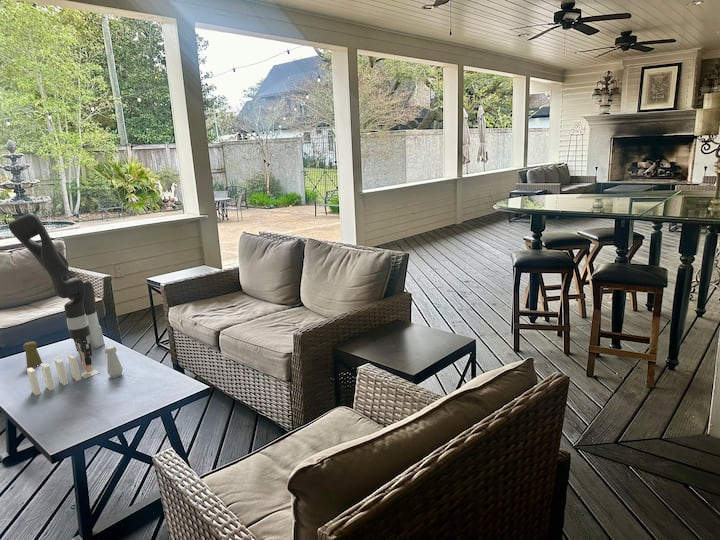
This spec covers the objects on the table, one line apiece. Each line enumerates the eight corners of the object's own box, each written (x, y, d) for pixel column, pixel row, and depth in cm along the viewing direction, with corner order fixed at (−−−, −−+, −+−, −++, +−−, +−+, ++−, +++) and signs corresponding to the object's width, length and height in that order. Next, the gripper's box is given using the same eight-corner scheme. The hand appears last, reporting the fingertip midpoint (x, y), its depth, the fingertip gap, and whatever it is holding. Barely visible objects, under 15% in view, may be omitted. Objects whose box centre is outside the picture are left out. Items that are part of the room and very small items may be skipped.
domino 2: (51, 385, 204) (45, 362, 202) (54, 388, 201) (49, 365, 198) (46, 386, 203) (40, 364, 201) (49, 390, 200) (44, 367, 197)
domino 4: (77, 376, 211) (72, 354, 209) (81, 379, 208) (76, 357, 205) (72, 377, 210) (67, 355, 207) (76, 380, 207) (71, 358, 204)
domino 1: (37, 389, 201) (31, 367, 198) (40, 393, 197) (35, 370, 195) (32, 391, 200) (26, 368, 197) (35, 395, 196) (29, 372, 194)
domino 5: (88, 368, 214) (83, 346, 212) (92, 371, 211) (87, 349, 208) (83, 369, 213) (79, 348, 210) (87, 372, 209) (83, 350, 207)
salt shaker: (126, 372, 211) (120, 344, 208) (118, 378, 206) (112, 349, 202) (113, 372, 212) (107, 344, 209) (105, 379, 206) (99, 350, 203)
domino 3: (64, 380, 208) (59, 358, 205) (68, 383, 204) (63, 361, 202) (59, 382, 206) (54, 360, 204) (63, 385, 203) (58, 363, 201)
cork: (28, 364, 228) (22, 341, 225) (43, 360, 230) (37, 338, 227) (25, 369, 222) (20, 346, 219) (41, 365, 225) (35, 343, 222)
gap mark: (94, 369, 216) (94, 369, 216) (99, 373, 212) (99, 372, 212) (79, 374, 212) (79, 374, 212) (84, 378, 208) (84, 378, 208)
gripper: (94, 326, 204) (102, 364, 209) (82, 319, 214) (90, 356, 218) (74, 332, 199) (82, 370, 203) (63, 324, 209) (71, 362, 213)
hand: (86, 363), depth 211 cm, fingers closed on domino 5, 5 cm apart
